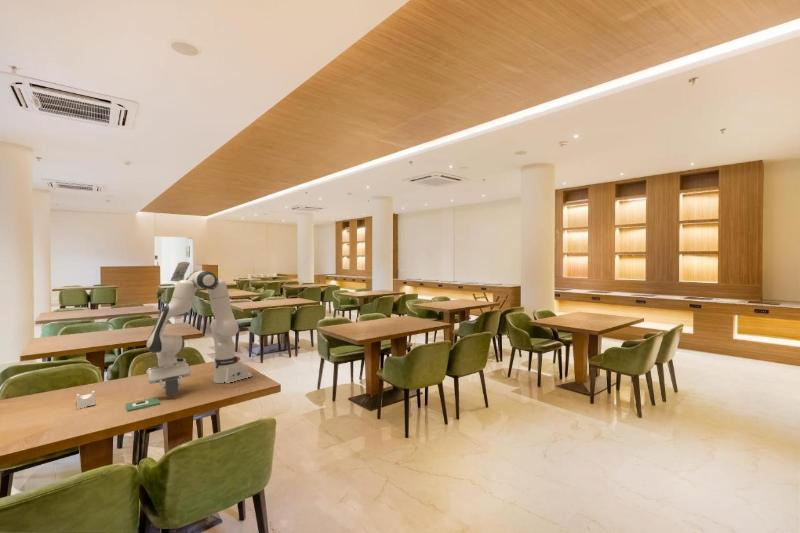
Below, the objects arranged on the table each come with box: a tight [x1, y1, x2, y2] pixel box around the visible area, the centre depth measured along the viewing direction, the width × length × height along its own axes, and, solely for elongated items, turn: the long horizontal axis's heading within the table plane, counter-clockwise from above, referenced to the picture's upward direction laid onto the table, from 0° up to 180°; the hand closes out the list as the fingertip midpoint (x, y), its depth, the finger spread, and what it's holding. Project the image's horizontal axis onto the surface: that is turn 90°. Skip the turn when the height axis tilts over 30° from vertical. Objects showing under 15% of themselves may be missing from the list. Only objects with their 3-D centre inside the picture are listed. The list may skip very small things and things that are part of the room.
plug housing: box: [164, 377, 179, 397], centre depth 209 cm, size 6×4×8 cm, turn 130°
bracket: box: [76, 390, 96, 410], centre depth 202 cm, size 13×7×8 cm, turn 42°
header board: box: [125, 396, 161, 413], centre depth 200 cm, size 14×11×4 cm
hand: (171, 386), depth 208 cm, fingers closed on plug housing, 6 cm apart
